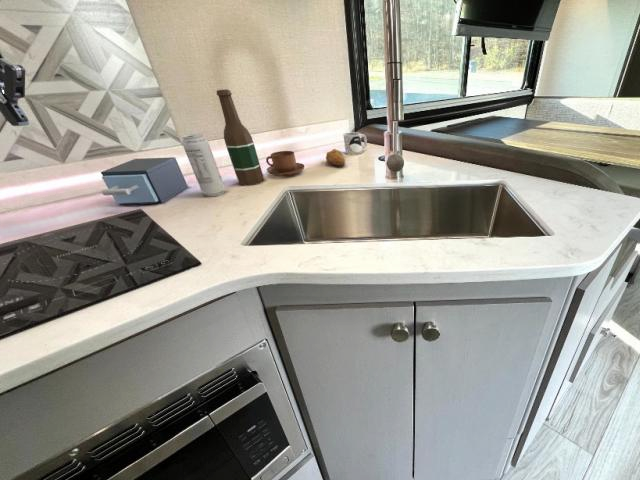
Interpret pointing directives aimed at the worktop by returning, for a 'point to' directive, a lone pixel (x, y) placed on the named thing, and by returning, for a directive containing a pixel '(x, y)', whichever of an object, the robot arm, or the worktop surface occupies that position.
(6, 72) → the robot arm
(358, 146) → the mug
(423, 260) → the worktop surface
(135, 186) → the light blue drawer
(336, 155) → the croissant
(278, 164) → the cup and saucer
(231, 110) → the beer bottle
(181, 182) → the blue drawer box
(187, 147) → the energy drink can
